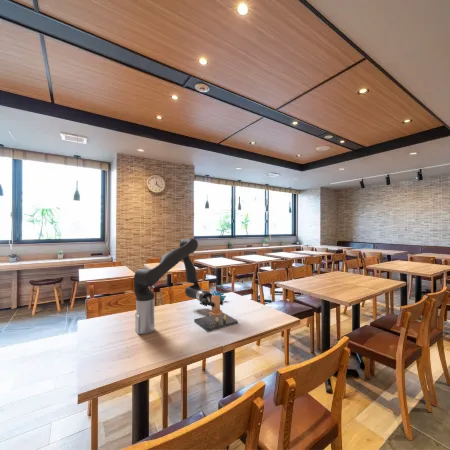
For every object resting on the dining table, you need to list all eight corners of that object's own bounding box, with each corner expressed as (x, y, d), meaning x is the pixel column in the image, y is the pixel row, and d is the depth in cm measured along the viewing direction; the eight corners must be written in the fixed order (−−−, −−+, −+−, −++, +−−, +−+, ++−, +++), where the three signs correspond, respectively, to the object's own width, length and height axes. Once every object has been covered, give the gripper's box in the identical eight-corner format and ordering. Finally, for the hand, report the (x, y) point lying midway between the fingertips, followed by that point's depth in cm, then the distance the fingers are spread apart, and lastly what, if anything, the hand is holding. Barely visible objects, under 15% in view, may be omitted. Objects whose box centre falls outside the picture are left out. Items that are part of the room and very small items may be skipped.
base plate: (207, 331, 128) (207, 321, 128) (194, 321, 142) (194, 312, 142) (237, 323, 139) (237, 313, 139) (222, 314, 153) (222, 306, 153)
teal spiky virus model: (212, 302, 172) (211, 289, 179) (210, 306, 176) (209, 293, 183) (227, 302, 176) (225, 290, 183) (224, 306, 180) (222, 294, 187)
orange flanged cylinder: (213, 317, 136) (213, 299, 135) (206, 312, 142) (206, 295, 142) (224, 314, 140) (224, 296, 140) (218, 310, 146) (217, 293, 146)
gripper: (193, 292, 149) (207, 300, 134) (213, 289, 157) (228, 295, 142) (193, 304, 149) (207, 313, 135) (214, 300, 157) (228, 308, 142)
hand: (218, 304), depth 139 cm, fingers closed on orange flanged cylinder, 5 cm apart
